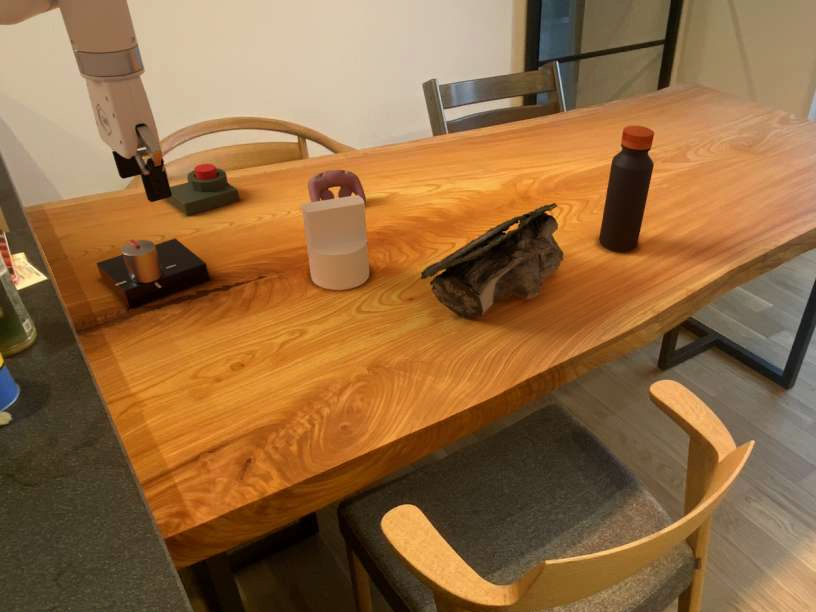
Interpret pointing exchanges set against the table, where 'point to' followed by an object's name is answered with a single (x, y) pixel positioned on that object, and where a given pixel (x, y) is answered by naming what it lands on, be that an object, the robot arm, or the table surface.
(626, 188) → the bottle
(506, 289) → the driftwood chunk
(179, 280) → the panel
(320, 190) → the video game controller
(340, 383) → the table surface
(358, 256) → the cylinder with rectangular tab
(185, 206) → the button box
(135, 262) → the dial
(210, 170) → the button
